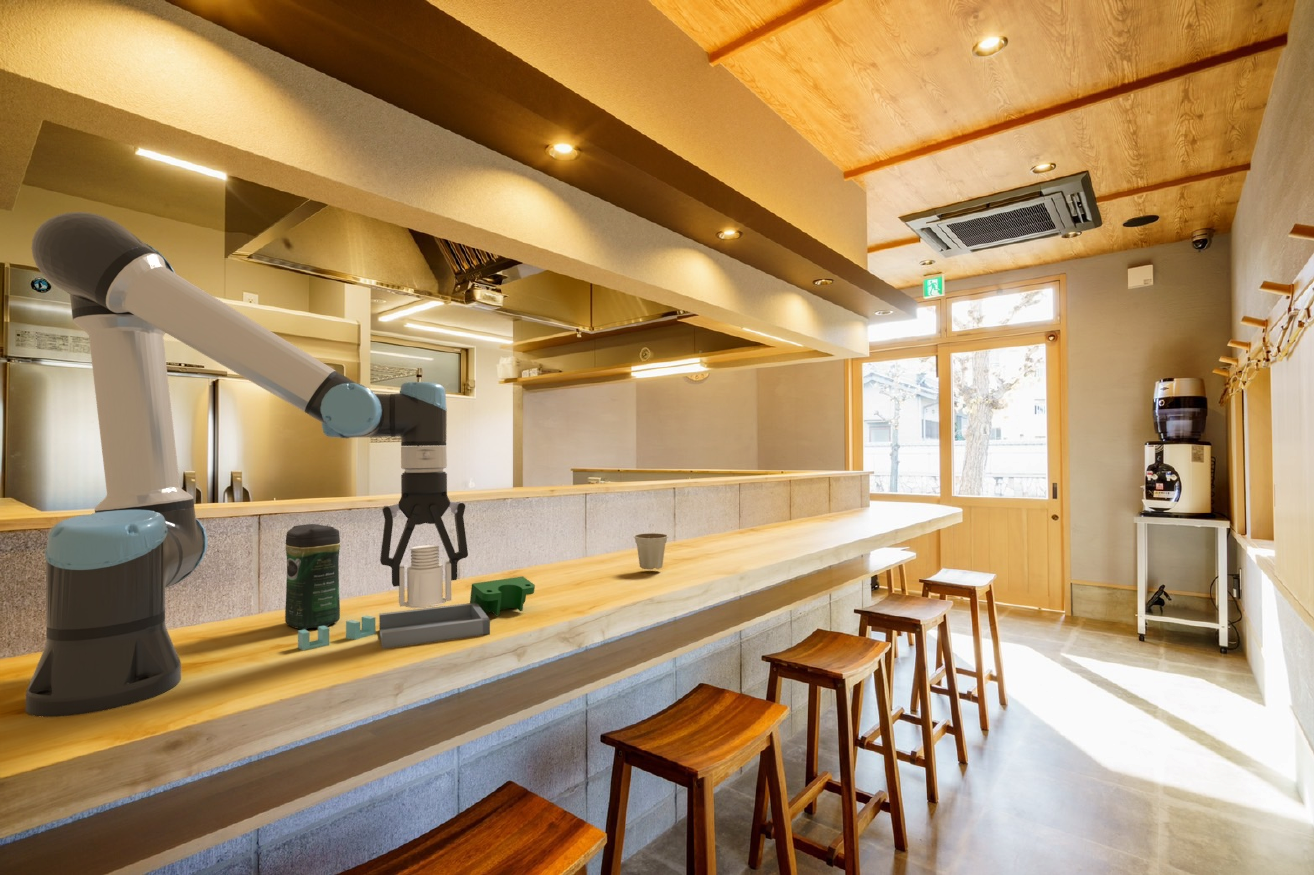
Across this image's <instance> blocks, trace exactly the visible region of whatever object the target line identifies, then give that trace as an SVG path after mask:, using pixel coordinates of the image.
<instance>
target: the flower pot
mask: <svg viewBox="0 0 1314 875" xmlns="http://www.w3.org/2000/svg"><path fill="white" fill-rule="evenodd" d="M633 538H634V540H635V543H636V549H637V556H638V563H639V567H640V568H641V569H642V570H643V569H644V570H654V569H657V570H659V569H662V568H663V565H664V558H665V551H666V550H665V548H666V544H667V542H668V541H667V540H668V538H669V535H668V534H666V533H658V532H657V533H656V532H655V533H654V532H647V533H646V532H645V533H637V534H634V535H633Z"/></svg>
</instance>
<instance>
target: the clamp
mask: <svg viewBox="0 0 1314 875" xmlns="http://www.w3.org/2000/svg"><path fill="white" fill-rule="evenodd" d="M535 587H536V585H535V583H533V582H532V581H531V580H529V579H527V578H526V577H524V576H516V577H509V578H503V579H502V578H501V579H496V580H489V581H487V580H486V581H482V582H481V581H480V582H474V583H473V582H472V583H471V588H470V598H469V599H470V600H469V603H476V602H477V604H478V605H479V606H480V607H481V609H482V610H483V611H484V612H485V614H487V613H493V614H494V615H495V616H500V611H502V610H510V609H517V610H518V611H519V612H523V610H524V609H523V608H524V604H525V602H526V598H527V596H529V595H533V594H535Z"/></svg>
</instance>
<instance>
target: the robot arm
mask: <svg viewBox="0 0 1314 875" xmlns="http://www.w3.org/2000/svg"><path fill="white" fill-rule="evenodd" d="M31 254H32V258H33V261H34V264H35V265H36V267H37V268H38V271H39V272H40V273H41V274H42V275H43V276H44V278H46V279H47V281H49V282H50V283H51V284H52V285H54V286H55V287H57V288H59V289H60V290H62V291H64V292H65V293H67V294H69V298H70V308H71V316H72V322H73V324H74V325H75V326H77V327H78V328H79V329H81V330H82V331H83V332H85V333H86V335H88V340H89V349H90V350H89V351H90V356H91V357H90V358H91V364H92V375H93V382H94V383H93V385H94V392H95V394H94V395H95V402H96V410H97V419H98V427H99V428H98V429H99V436H100V446H101V453H102V454H101V455H102V461H103V462H102V463H103V472H104V480H105V488H106V495H105V497H104V498H103V499H102V500H101V501H100V502H99V504H98V505H96V506H95V507H94V512H93V513H90V514H81V515H76V516H72V517H69V518H66V519H63V520H61V521H59V522H57V523H56V524H54V525H53V526H52V527H51V528H50V531H49V532H48V534H47V545H46V548H45V550H44V557H45V561H46V562H45V563H46V564H45V565H46V567H45V568H46V570H45V572H46V574H45V575H46V577H45V579H46V582H45V583H46V591H45V596H46V598H45V599H46V607H45V608H46V616H45V617H46V618H45V619H46V620H45V622H46V630H45V632H46V636H45V637H46V641H45V647H44V649H43V651H42V654H41V656H40V659H39V660H38V664H37V666H36V668H35V670H34V672H33V675H32V677H31V678H30V682H29V685H28V687H27V689H26V692H25V713H27V714H28V715H30V714H31V715H30V716H32V715H35V716H34V717H39V716H41V718H42V716H43V718H53V717H54V718H55V717H56V718H58V717H71V716H77V715H78V716H79V715H84V714H85V715H86V714H92V713H97V712H104V711H108V709H109V710H113V709H119V708H122V707H126V706H130V705H132V704H136V703H140V702H143V701H146V700H149V699H151V698H154V697H156V696H159V695H161V694H163V693H165V692H167V691H169V690H172V689H173V688H175V687H176V686H177V685H178V684H179V683H180V682H181V680H182V663H181V660H180V657H179V655H178V653H177V650H176V647H175V646H174V643H173V641H172V638H171V636H170V634H169V632H168V629H167V626H166V589H167V588H170V587H171V586H173V585H174V586H175V585H176V584H178V583H180V582H181V581H183V580H185V579H186V578H188V576H190V575H191V574H192V572H194V571H195V569H197V567H198V566H199V565H200V563H202V561H203V559H204V557H205V556H206V552H207V549H208V534H207V531H206V529H205V527H204V525H203V524H202V523H201V521H200V520H199V519H198V518H197V517H196V511H195V501H194V500H195V499H194V496H193V495H192V494H190V493H189V492H187V491H185V490H184V489H183V488H182V487H181V486H180V485H181V484H180V476H179V475H180V474H179V466H178V458H177V457H178V456H177V448H176V440H175V432H174V431H175V430H174V422H173V412H172V405H171V404H172V403H171V396H170V395H171V394H170V385H169V384H170V383H169V377H168V368H167V359H166V358H167V357H166V352H165V351H166V350H165V349H166V348H165V342H164V341H165V340H164V337H165V334H167V335H168V336H170V337H173V338H174V339H176V340H178V341H180V342H181V343H183V344H185V345H187V346H188V347H190V348H191V349H193V350H195V351H196V352H198V353H200V354H202V355H204V356H205V357H207V358H209V359H211V360H212V361H214V362H216V363H218V364H220V365H221V366H223V367H225V368H226V369H229V370H230V371H232V372H234V373H236V374H237V375H239V376H241V377H242V378H245V379H246V380H248V381H249V382H251V383H253V384H255V385H256V386H258V387H260V388H262V389H263V390H265V391H267V392H269V393H270V394H273V395H274V396H275V397H277V398H280V399H281V400H283V401H284V402H285V403H288V404H290V405H292V406H293V407H295V408H297V409H298V410H301V411H302V412H303V413H305V414H307V415H309V416H310V417H312V418H314V419H315V420H317V421H318V422H320V423H321V428H322V431H323V434H324V435H325V436H326V437H327V438H328V437H329V438H341V439H350V438H354V439H355V438H387V437H388V438H397V437H398V438H400V441H401V442H400V446H401V447H400V467H401V469H402V470H404V472H402V474H401V476H400V480H401V481H400V482H401V486H400V487H401V490H400V491H401V492H400V493H401V494H400V495H401V496H400V499H399V501H398V503H396V504H395V503H394V504H393V505H389V506H388V505H384V506H383V507H382V508H381V510H382V514H383V517H384V525H383V533H382V534H383V535H382V541H381V550H380V558H379V560H380V564H381V566H386V567H389V568H391V584H392V586H393V587H398V603H399V605H398V606H399V607H400V608H401V607H405V602H406V600H405V598H406V597H405V596H406V595H405V594H406V593H405V592H406V590H405V579H406V578H405V566H404V565H403V564H402V565H401V563H402V561H403V558H404V556H405V553H406V550H407V548H408V544H409V542H410V539H411V537H412V534H413V532H414V529H415V527H416V526H418V525H419V526H420V525H424V524H430V525H433V524H434V525H435V528H436V532H437V533H438V536H439V538H440V541H441V543H442V545H443V547H444V550H445V552H446V554H447V557H448V560H447V561H446V560H445V561H444V598H445V599H446V602H450V601H452V582H453V581H457V579H458V563H459V561H460V560H463V559H466V558H467V557H468V556H469V551H468V543H467V536H466V534H467V533H466V527H465V520H464V514H465V511H466V510H465V509H466V504H465V503H463V502H461V501H458V502H455V501H451V499H449V498H450V497H449V496H448V473H446V471H444V469H447V466H448V463H447V462H448V459H447V457H448V456H447V424H448V422H447V416H448V415H447V414H448V413H447V411H448V410H447V397H446V396H447V395H446V388H445V387H444V386H443V385H442V384H440V383H436V382H426V381H415V382H414V381H410V382H404V383H402V384H401V385H400V390H399V393H388V394H386V393H375V392H374V391H372V390H371V389H370V388H368V387H366V386H364V385H362V384H359V383H357V382H355V381H353V380H352V379H350V378H348V377H347V376H345V375H344V374H342V373H339V371H336V369H334V368H332V367H331V366H329V365H327V364H326V363H324V362H322V361H321V360H319V359H317V358H316V357H315V356H312V355H311V354H309V353H308V352H306V351H304V350H303V349H301V348H299V347H298V346H296V345H294V344H292V343H291V342H289V341H288V340H287V339H284V338H283V337H281V336H280V335H278V334H276V333H274V332H273V331H271V330H269V329H268V328H266V327H265V326H263V325H261V324H260V323H258V322H256V321H255V320H253V319H251V318H250V317H248V316H246V315H245V314H243V313H242V312H240V311H239V310H237V309H235V308H233V307H231V306H230V305H228V304H227V303H225V302H223V301H222V300H220V299H218V298H216V297H215V296H213V295H211V294H210V293H208V292H207V291H205V290H203V289H202V288H200V287H198V286H197V285H195V284H193V283H192V282H190V281H188V280H187V279H186V278H184V277H182V276H180V275H178V274H177V273H176V272H175V269H174V268H173V267H172V265H171V264H170V263H169V261H168V260H167V259H166V257H165V256H164V255H163V254H161V252H159V250H157V249H156V248H154V247H153V246H151V245H149V244H148V243H146V242H143V241H142V240H141V239H140V238H138V237H137V236H136V235H134V234H133V233H132V232H131V231H130V230H128V229H127V228H126V227H124V226H123V225H121V224H120V223H118V222H117V221H115V220H112V219H110V218H108V217H105V216H102V215H101V214H100V215H99V214H98V213H97V214H96V213H91V212H86V211H85V212H83V211H75V212H74V211H73V212H72V211H71V212H64V213H62V214H58V215H55V216H52V217H50V218H49V219H47V220H46V221H44V222H43V223H42V224H40V225H39V227H37V229H36V231H35V232H34V234H33V238H32V240H31ZM449 508H450V511H451V513H452V514H453V515H454V524H455V525H454V526H455V531H456V540H457V548H458V551H455V548H454V546H453V544H452V541H451V538H450V536H449V534H448V532H447V529H446V527H445V523H444V521H443V518H442V517H443V516H444V514H445V513H446V512H447V510H448V509H449ZM399 510H400V511H401V513H402V514H403V515H404V516H405V518H407V520H406V522H405V525H404V529H403V531H402V533H401V536H400V539H399V541H398V544H397V546H396V550H395V552H394V554H393V557H390V550H391V545H392V544H391V543H392V534H393V524H394V519H393V518H395V517H397V516H398V514H397V513H398V511H399ZM103 710H104V711H103Z"/></svg>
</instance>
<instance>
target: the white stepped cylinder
mask: <svg viewBox="0 0 1314 875" xmlns="http://www.w3.org/2000/svg"><path fill="white" fill-rule="evenodd" d="M439 549H440V547H439V545H432V544H431V545H430V544H429V545H427V544H426V545H417V546H413V547H411V548H410V554H411V555H410V566H408V567H407V569H406V573H407V574H406V575H407V576H406V578H407V579H406V582H407V583H406V586H407V589H406V591H407V593H406V594H407V597H406V598H407V600H405V606H404V607H405V608H410V609H411V608H412V609H424V608H432V607H439V606H441V605H443V604H446V602H447V600H446V599H445V597H444V594H443V593H444V587H443V586H444V585H443V584H444V583H443V582H444V580H443V578H444V577H443V575H444V574H443V572H444V571H443V565H442V564H440V563H439V562H440V560H439V559H440V556H439V555H440V550H439Z"/></svg>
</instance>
